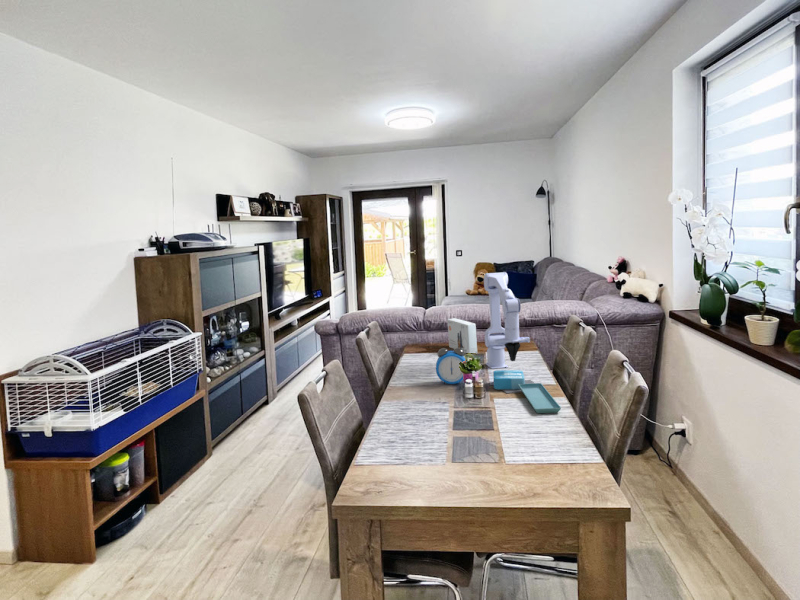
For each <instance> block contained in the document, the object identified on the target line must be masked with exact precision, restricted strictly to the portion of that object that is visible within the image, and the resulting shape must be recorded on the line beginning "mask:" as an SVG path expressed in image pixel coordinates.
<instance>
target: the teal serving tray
mask: <svg viewBox="0 0 800 600" xmlns="http://www.w3.org/2000/svg"><path fill="white" fill-rule="evenodd" d="M518 385H519V387H520V389H521V391H522V392H521V393H522V394H523V395H524V397H525V398H526V400H527V401H528V403H529V404H530V405H531V407H532V408H533V410H534V411H535V412H536V414H555V413H559V412H560V411H561V408H562V407H561V406H560V405H559V403H558V402H557V401H556V400H555V398H554V397H553V396H552V395H551V393H550V392H549V391H548V390H547V388H546V387H545V386H544V384H542V383H541V382H537V383H536V382H534V383H532V384H518Z"/></svg>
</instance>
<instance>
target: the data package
mask: <svg viewBox="0 0 800 600" xmlns="http://www.w3.org/2000/svg"><path fill="white" fill-rule="evenodd" d="M492 373H493V388H494V389H495V390H502V389H520V387H519V385H518V384H525V380H526V379H525V373H524V371H523V370H521V369H516V370H514V369H513V370H510V369H508V370H503V369H502V370H497V369H496V370H494V371H493V372H492Z"/></svg>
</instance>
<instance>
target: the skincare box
mask: <svg viewBox="0 0 800 600" xmlns="http://www.w3.org/2000/svg"><path fill="white" fill-rule="evenodd" d="M446 322H447V333H448V346H449V348H451V349H452V350H454V349H455V348H461V349H463V351H464V353H465V354H466V353H476V354H478V344H477V343H478V340H477V327H476V326H477V325H476V323H474V322H471V321H468V320H464V319H459V318H457V317H452V318H447V321H446Z"/></svg>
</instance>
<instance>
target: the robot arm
mask: <svg viewBox="0 0 800 600" xmlns="http://www.w3.org/2000/svg"><path fill="white" fill-rule="evenodd" d="M508 284H509V276H508V273H507V271H503V272H489V273H488V272H486V273H485V274H484V275H483V287H484V291H486V292H487V293H488V298H489V299H488V300H489V318H490V326H489V327H488V328H487V329H486V330H485V332H484V345H485V346H486V348H487V350H486V362H485V365H486V366H487V367H489V368H490V369H505V367H506V368H509V366H508V365H507V364H506V357H505V349H506V351H507V353H508V355H509V360H510V361H511V362H515V361H516V358H517V353H518V351H519V349H520V348H521V343H531V337H529V336H520V315H519V313H520V312H521V307H522V306H521V301H520V298H517V297H516V296H515V294H514V293H513V291H512V290H511V289H510V288H508ZM501 304H502V305H501ZM501 306H502V313H503V317H504V327H502V322H501V321H502V319H501Z"/></svg>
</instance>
